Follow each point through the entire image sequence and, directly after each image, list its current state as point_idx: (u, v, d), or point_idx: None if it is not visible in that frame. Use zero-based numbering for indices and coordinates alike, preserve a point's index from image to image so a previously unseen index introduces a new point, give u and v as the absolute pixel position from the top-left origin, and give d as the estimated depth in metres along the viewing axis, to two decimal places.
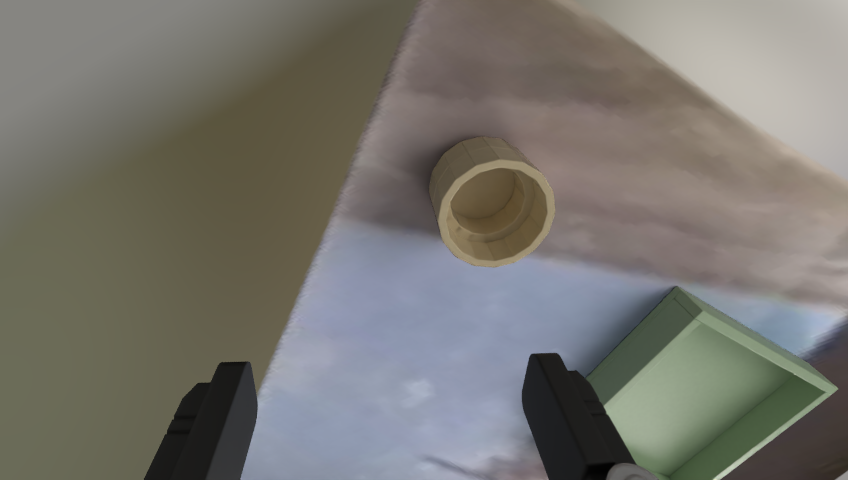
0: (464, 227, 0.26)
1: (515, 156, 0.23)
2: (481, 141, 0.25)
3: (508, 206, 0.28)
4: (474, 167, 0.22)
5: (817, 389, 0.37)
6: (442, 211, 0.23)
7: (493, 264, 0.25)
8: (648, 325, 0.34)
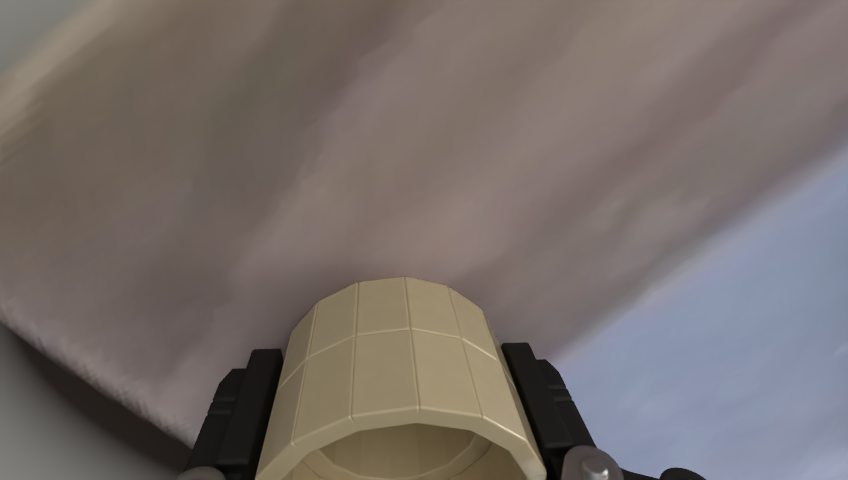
0: (428, 467, 0.13)
1: (293, 410, 0.09)
2: None
3: None
4: None
5: None
6: None
7: None
8: None
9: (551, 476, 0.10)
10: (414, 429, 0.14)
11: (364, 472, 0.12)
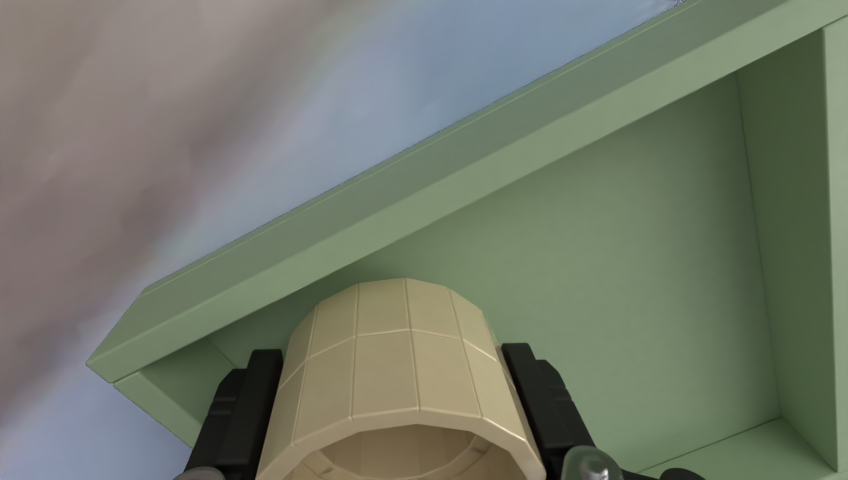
0: (428, 467, 0.13)
1: (293, 411, 0.09)
2: (284, 362, 0.12)
3: None
4: None
5: (800, 40, 0.09)
6: None
7: None
8: None
9: (551, 476, 0.10)
10: (414, 430, 0.14)
11: (364, 473, 0.12)
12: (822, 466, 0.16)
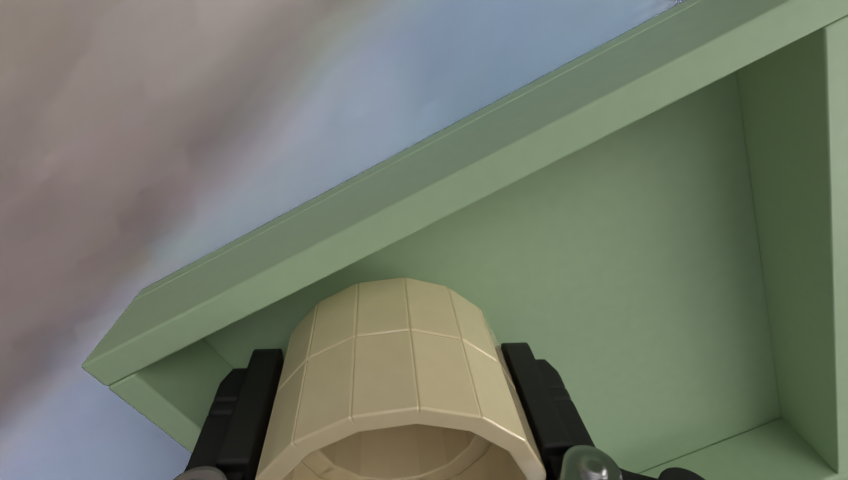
0: (428, 467, 0.13)
1: (293, 411, 0.09)
2: (284, 362, 0.12)
3: None
4: None
5: (801, 39, 0.09)
6: None
7: None
8: None
9: (550, 476, 0.10)
10: (414, 429, 0.14)
11: (364, 472, 0.12)
12: (822, 467, 0.16)
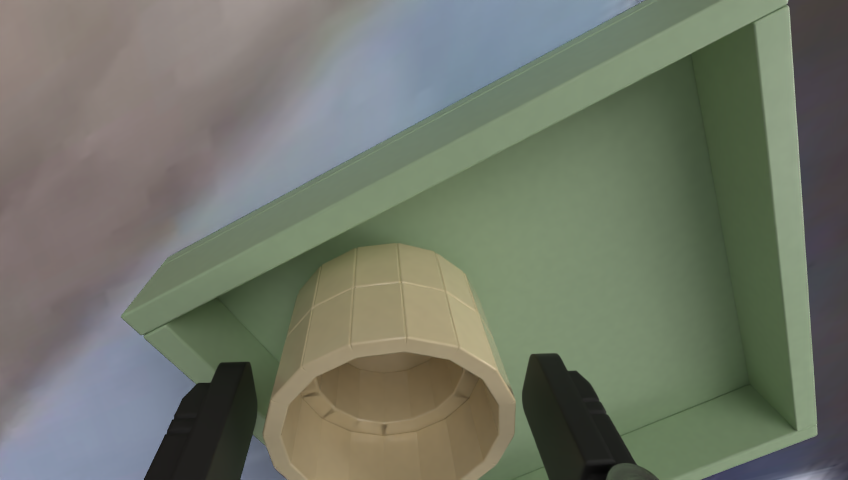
0: (418, 412, 0.14)
1: (301, 345, 0.11)
2: None
3: None
4: (264, 439, 0.11)
5: (738, 32, 0.10)
6: None
7: (488, 465, 0.12)
8: None
9: None
10: (406, 383, 0.16)
11: (362, 416, 0.14)
12: (783, 426, 0.17)
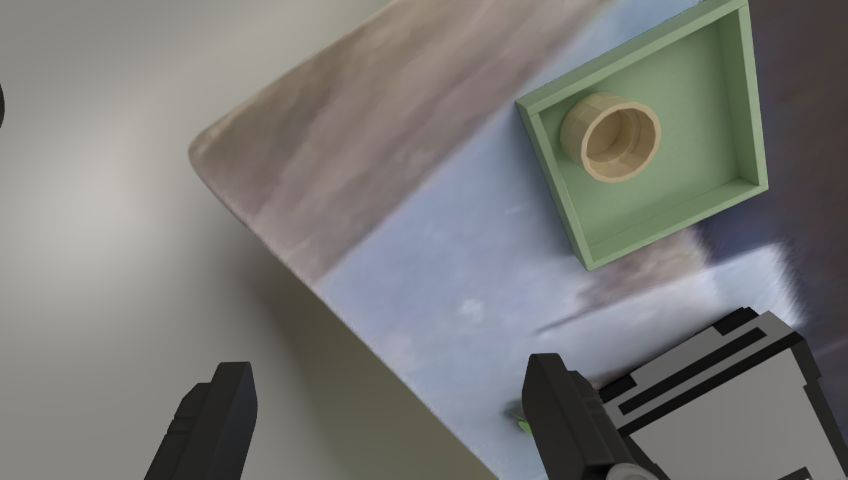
0: (611, 159, 0.37)
1: (595, 111, 0.34)
2: (570, 117, 0.36)
3: (622, 120, 0.37)
4: (582, 142, 0.34)
5: (733, 12, 0.33)
6: (591, 173, 0.35)
7: (647, 162, 0.35)
8: (531, 140, 0.38)
9: None
10: (600, 156, 0.39)
11: (591, 159, 0.37)
12: (753, 185, 0.41)
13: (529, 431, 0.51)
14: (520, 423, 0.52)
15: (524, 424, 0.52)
